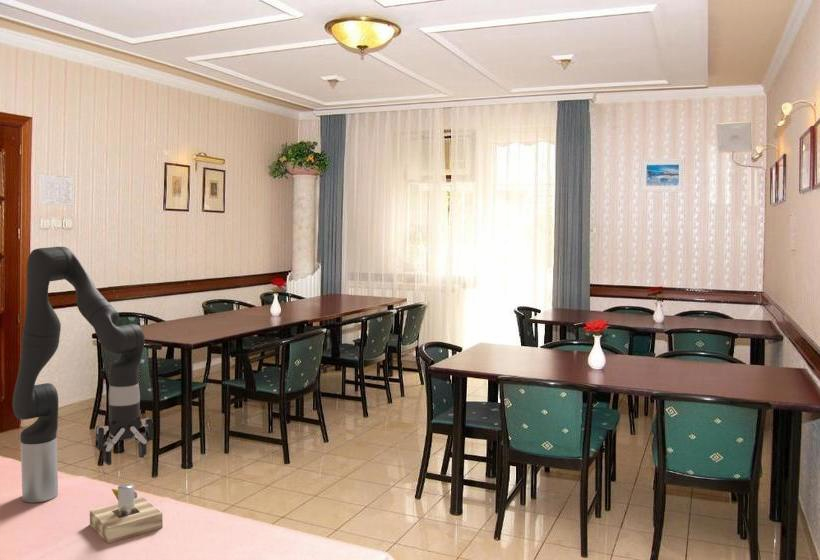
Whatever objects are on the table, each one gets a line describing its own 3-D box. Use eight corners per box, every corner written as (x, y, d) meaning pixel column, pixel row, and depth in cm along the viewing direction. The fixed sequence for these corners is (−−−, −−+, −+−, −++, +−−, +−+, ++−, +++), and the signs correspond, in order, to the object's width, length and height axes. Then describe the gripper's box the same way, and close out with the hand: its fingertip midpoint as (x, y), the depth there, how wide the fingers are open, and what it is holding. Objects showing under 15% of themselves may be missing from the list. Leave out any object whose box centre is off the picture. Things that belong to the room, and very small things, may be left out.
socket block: (89, 524, 183) (89, 510, 182) (142, 510, 192) (142, 496, 192) (108, 543, 172) (107, 528, 172) (162, 527, 182) (162, 513, 181)
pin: (116, 522, 182) (115, 485, 182) (131, 518, 185) (130, 482, 184) (121, 527, 179) (121, 490, 179) (137, 523, 182) (136, 486, 181)
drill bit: (142, 510, 193) (117, 494, 187) (126, 515, 195) (101, 500, 188) (145, 493, 197) (121, 477, 191) (130, 499, 199) (106, 483, 192)
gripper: (145, 393, 187) (146, 451, 188) (91, 402, 177) (92, 462, 179) (156, 399, 181) (157, 458, 183) (101, 408, 172) (102, 471, 173)
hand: (125, 460), depth 181 cm, fingers open, 8 cm apart
